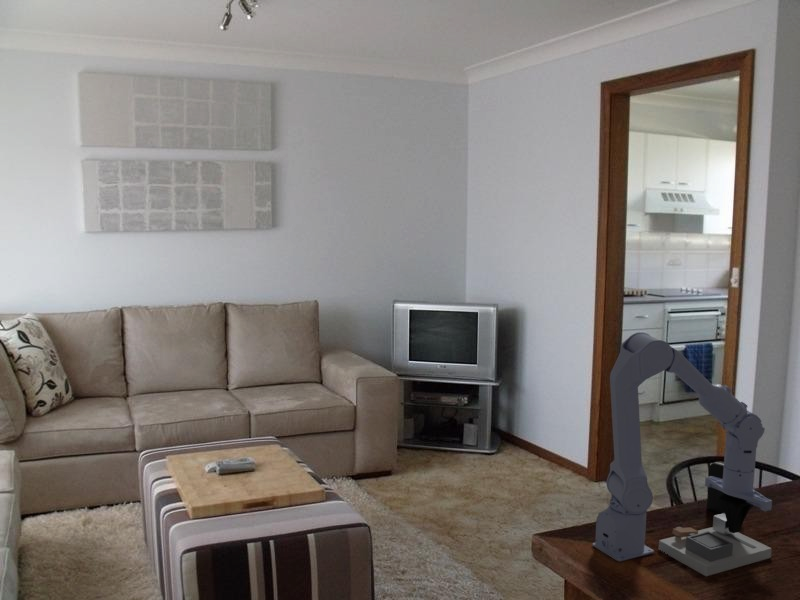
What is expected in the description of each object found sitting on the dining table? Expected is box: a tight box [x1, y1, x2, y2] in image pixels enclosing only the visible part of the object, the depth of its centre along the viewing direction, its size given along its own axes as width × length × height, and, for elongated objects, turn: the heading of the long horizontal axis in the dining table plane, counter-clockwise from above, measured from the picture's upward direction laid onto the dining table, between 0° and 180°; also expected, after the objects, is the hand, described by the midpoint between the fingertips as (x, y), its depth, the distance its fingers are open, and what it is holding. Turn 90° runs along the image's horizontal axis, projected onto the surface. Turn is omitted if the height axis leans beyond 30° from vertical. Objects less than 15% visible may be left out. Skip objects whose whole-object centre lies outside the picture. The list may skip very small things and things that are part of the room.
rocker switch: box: [672, 527, 699, 537], centre depth 151 cm, size 5×2×1 cm, turn 116°
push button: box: [692, 534, 727, 548], centre depth 146 cm, size 4×4×2 cm
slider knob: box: [712, 513, 732, 535], centre depth 154 cm, size 3×3×3 cm
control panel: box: [658, 526, 772, 577], centre depth 149 cm, size 18×12×4 cm, turn 116°
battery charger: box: [706, 460, 725, 514], centre depth 170 cm, size 7×4×11 cm, turn 38°
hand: (734, 531), depth 152 cm, fingers closed
